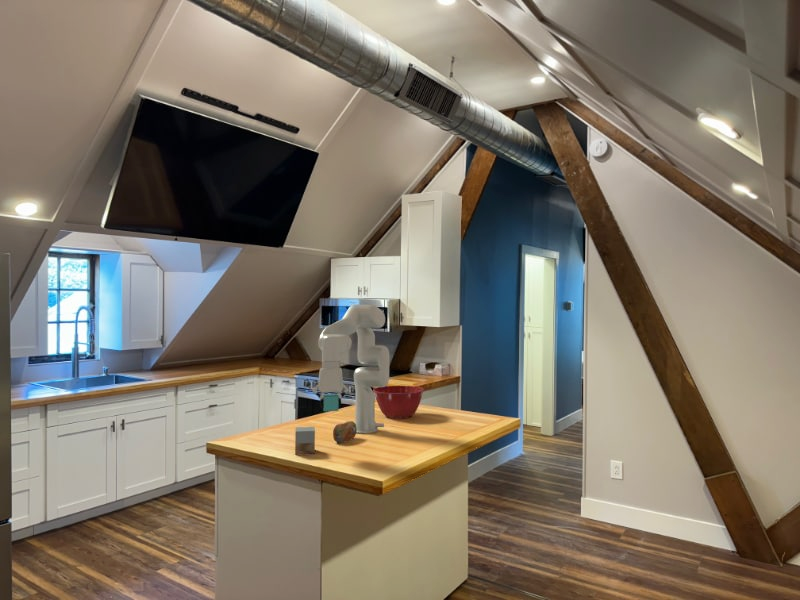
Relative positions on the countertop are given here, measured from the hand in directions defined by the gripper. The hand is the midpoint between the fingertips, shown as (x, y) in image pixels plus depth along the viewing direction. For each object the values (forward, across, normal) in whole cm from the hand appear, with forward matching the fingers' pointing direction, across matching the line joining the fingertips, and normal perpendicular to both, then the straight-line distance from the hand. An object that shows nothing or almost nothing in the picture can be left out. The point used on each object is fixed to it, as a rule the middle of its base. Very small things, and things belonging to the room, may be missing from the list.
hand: (330, 407), depth 237 cm
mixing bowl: (+20, -42, -74) cm, 87 cm away
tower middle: (+15, +10, -5) cm, 19 cm away
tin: (+20, -8, -22) cm, 31 cm away
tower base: (+20, +10, -5) cm, 23 cm away
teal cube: (+1, 0, 0) cm, 1 cm away
